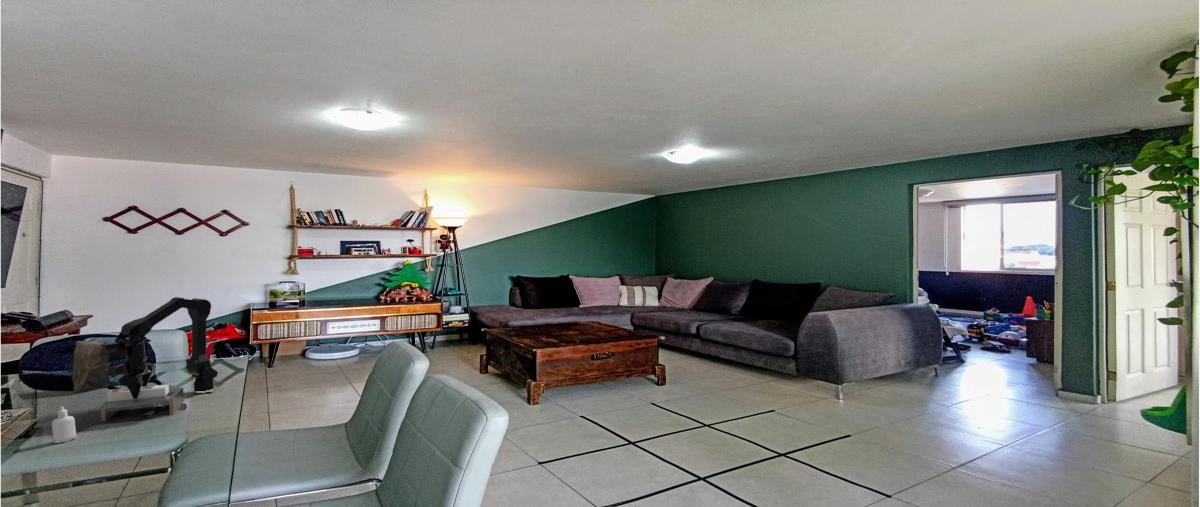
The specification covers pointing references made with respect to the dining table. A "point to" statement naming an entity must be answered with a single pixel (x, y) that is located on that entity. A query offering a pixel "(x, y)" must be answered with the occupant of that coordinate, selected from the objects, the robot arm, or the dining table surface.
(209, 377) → the robot arm
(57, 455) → the dining table surface
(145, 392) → the power strip
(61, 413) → the eye dropper bottle
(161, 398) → the keyhole board
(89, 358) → the brown paper bag
